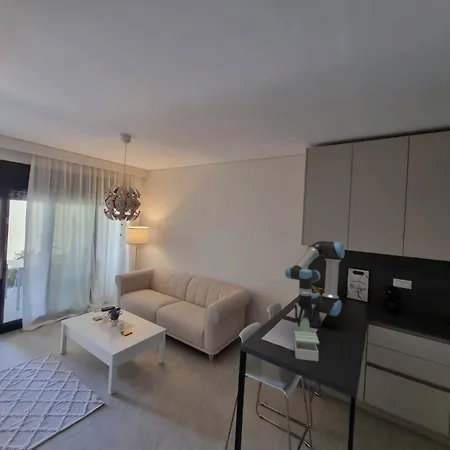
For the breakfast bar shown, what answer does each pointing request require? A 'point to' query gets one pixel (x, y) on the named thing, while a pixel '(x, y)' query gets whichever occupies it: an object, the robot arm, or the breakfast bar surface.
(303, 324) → the green stepped block
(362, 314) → the breakfast bar surface
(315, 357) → the tub
